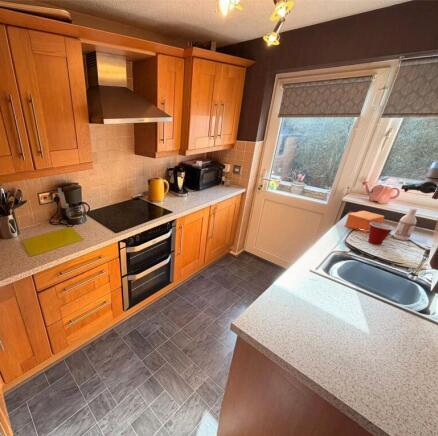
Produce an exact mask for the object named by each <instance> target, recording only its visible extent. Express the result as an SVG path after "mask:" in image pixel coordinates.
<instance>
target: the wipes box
mask: <svg viewBox="0 0 438 436" xmlns="http://www.w3.org/2000/svg"><path fill="white" fill-rule="evenodd" d="M384 219H385V217H383V218H379V219H375V220H370V221H368V220H365V219H361V218H358V217H354V216H351V215H347V218H346V222H345V225H344V227H348V228H350V229H354V230H357V231H359V232H363V233H369V232H370V223H380V224H383V223H384ZM357 228H360V229H364V230H369V231H364V230H360V229H357Z"/></svg>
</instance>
